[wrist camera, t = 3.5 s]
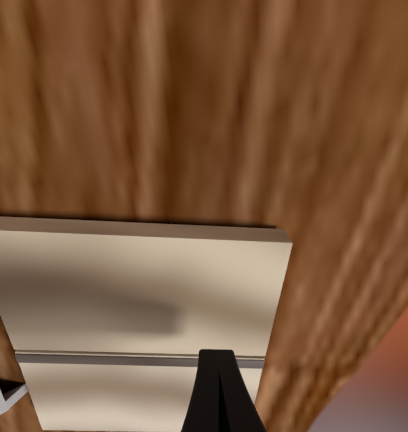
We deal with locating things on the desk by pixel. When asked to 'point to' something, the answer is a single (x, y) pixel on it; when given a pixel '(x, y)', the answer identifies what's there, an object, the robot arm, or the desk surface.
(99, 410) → the laid board
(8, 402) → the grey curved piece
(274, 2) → the desk surface
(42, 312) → the board
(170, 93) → the desk surface
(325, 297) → the desk surface
